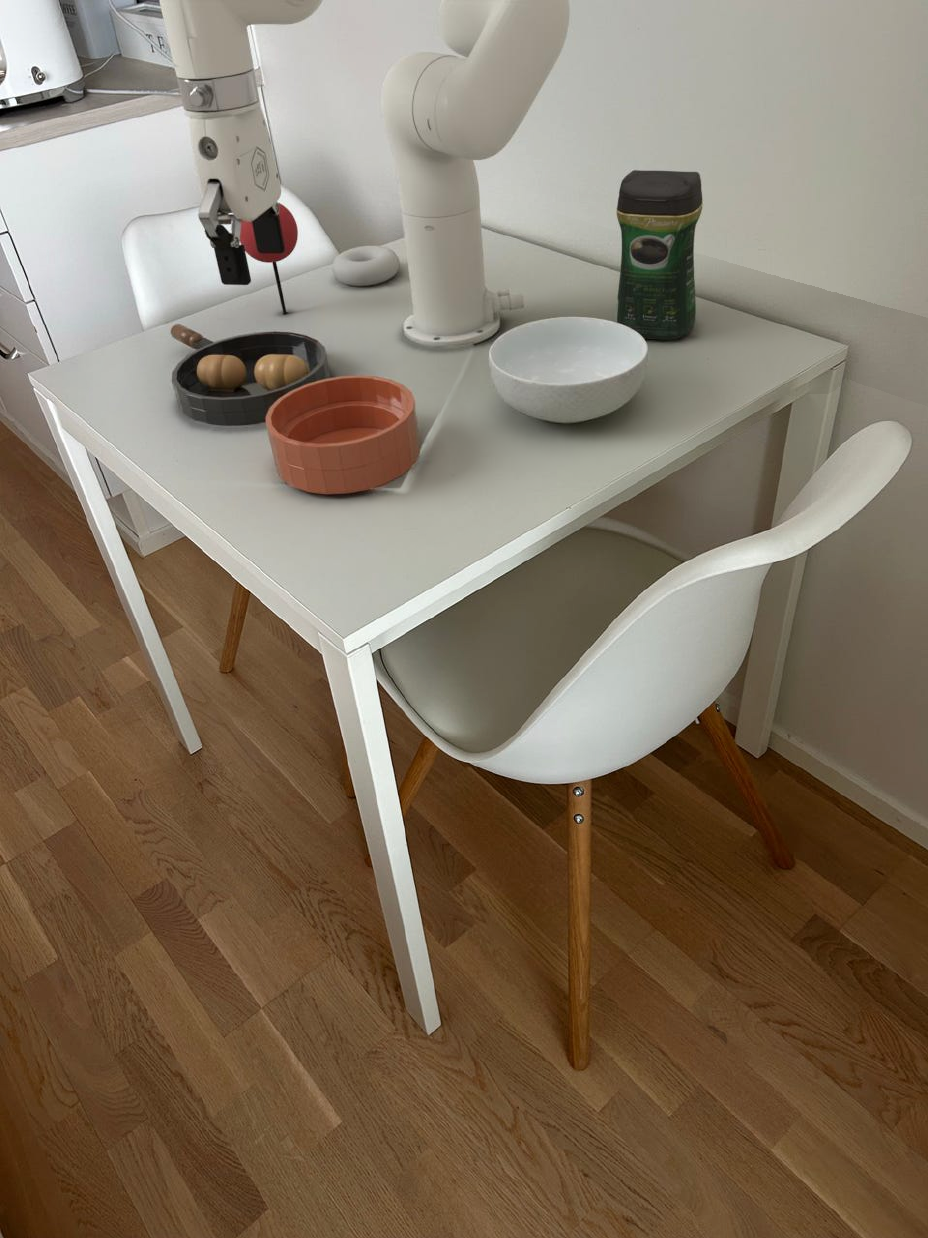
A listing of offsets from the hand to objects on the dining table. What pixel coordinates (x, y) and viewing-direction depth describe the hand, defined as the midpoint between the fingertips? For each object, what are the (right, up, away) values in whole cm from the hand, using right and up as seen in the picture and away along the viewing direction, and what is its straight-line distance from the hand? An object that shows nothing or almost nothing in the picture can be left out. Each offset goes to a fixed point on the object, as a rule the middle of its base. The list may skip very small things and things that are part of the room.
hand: (254, 267), depth 106 cm
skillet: (-2, -11, +11) cm, 16 cm away
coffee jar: (+47, -2, +15) cm, 49 cm away
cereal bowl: (+35, -15, +1) cm, 38 cm away
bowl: (+11, -22, -4) cm, 25 cm away
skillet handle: (-11, -4, +18) cm, 21 cm away
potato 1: (-6, -10, +11) cm, 16 cm away
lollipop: (-2, +4, +30) cm, 30 cm away
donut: (+9, +12, +38) cm, 41 cm away
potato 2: (+2, -11, +9) cm, 15 cm away
